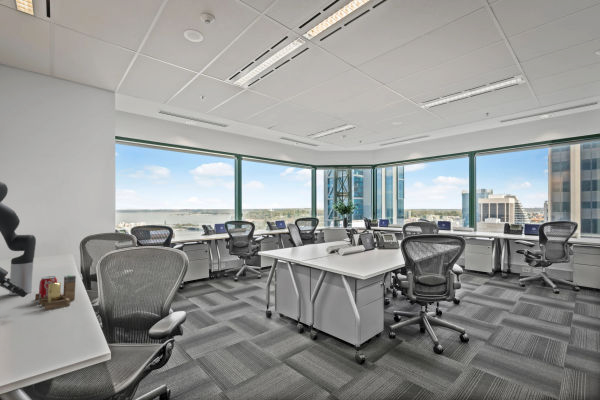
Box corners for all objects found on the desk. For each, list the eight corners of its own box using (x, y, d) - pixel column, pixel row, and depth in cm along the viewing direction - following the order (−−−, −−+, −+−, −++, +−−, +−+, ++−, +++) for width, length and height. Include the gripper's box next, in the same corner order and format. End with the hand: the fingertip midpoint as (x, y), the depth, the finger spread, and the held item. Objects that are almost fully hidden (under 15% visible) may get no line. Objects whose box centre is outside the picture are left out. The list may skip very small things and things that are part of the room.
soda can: (59, 298, 154) (60, 276, 155) (47, 302, 147) (48, 279, 148) (47, 297, 155) (49, 275, 156) (34, 301, 148) (35, 278, 149)
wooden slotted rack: (35, 299, 152) (36, 275, 152) (66, 294, 162) (67, 272, 163) (45, 310, 136) (47, 283, 137) (79, 303, 146) (80, 278, 147)
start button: (66, 280, 152) (66, 275, 152) (71, 279, 154) (72, 274, 154) (67, 280, 151) (68, 276, 151) (73, 280, 152) (73, 275, 152)
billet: (46, 305, 142) (48, 283, 143) (58, 303, 145) (59, 282, 146) (48, 308, 139) (49, 285, 139) (60, 305, 142) (61, 283, 143)
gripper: (0, 267, 123) (34, 289, 132) (-4, 264, 132) (29, 284, 141) (-19, 282, 119) (18, 304, 127) (-22, 277, 128) (13, 298, 136)
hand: (23, 293), depth 134 cm, fingers open, 8 cm apart
